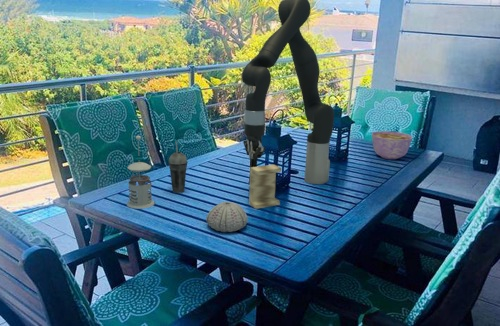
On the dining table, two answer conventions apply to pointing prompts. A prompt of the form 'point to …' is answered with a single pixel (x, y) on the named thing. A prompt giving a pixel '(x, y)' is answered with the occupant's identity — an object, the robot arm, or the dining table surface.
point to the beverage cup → (178, 171)
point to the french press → (139, 186)
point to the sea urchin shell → (227, 217)
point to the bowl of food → (391, 144)
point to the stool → (263, 186)
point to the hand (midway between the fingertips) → (253, 167)
